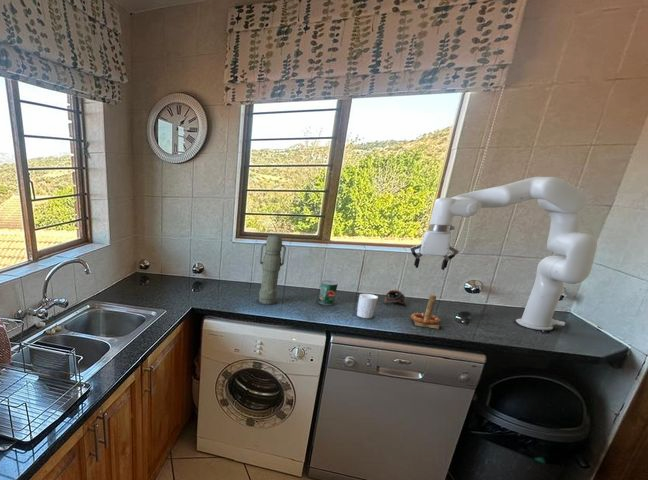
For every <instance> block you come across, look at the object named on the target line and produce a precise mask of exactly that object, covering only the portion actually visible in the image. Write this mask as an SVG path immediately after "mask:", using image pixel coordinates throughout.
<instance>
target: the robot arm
mask: <svg viewBox="0 0 648 480" xmlns="http://www.w3.org/2000/svg"><path fill="white" fill-rule="evenodd" d="M530 200H537V204H538V207H539V208H540V209H541V210H544V211H545V212H547V214H548V215H549V218H550V226H549V230H548V236H547V241H546V249H547V250H548V251H549V252H551V253H553V254H556V255H548V256H546V257H544V258H542V259H541V260H540V261H539V262H538V264H537V266H536V275H535V281H534V284H533V285H532V289H531V291H530V294H529V297H528V299H527V302H526V305H525V308H524V311H523V314H522V316H521V317H520V318H517V319H515V322H516V323H517V324H518V325H519V326H521V327H524V328H528V329H532V330H538V331H552V330H553V329H554V326H559V327H564V326H565V325H566V322H565V321H561V320H559V319H555V318H553V317H554V313H555V312H556V309H557V306H558V304H559V301H560V299H561V296H562V294H563V291H564V283H566V284H570V285H577V284H580V283H582V282H584V281H585V280H587V279H588V277H589V276H590V275H591V271H592V269H593V264H594V260H595V257H596V252H597V248H598V247H597V246H598V243H597V240H596V238H595V237H594V236H593V235H591V234H589V233H583V232H580V226H581V219H582V218H581V217H582V216H581V211H583V210H584V209H585V208H586V207H587V206H588V204H589V196H588V194H587V193H586V192H585V191H584V190H582V189H580V188H578V187H577V186H576V185H573V184H572V183H569V182H568V181H566V180H564V179H562V178H560V177H556V176H532V177H528V178H524V179H521V180H518V181H514V182H511V183H506V184H502V185H499V186H493V187H489V188H484V189H478V190H474V191H469V192H465V193H461V194H458V195H455V196H452V197H439V198H437V199H435V202H434V205H433V209H432V212H431V217H430V221H429V224H428V230H425V232H424V234H423V236H422V238H421V239H422V240H421V243H420V244H417V245H415V246H412V247H410V251H411V254H412V256H413V257H414V258H415V259H414V264H413V266H415V269H418V268H419V265H420V261H421V259H420V258H421V257H423V256H430V257H431V256H433V257H443V258H444V259H443V260H442V263H441V267H440V270H442V271H445V269H446V268H448V263H449V261H451V260H452V259H453V258H455V256H457V254H459V249H456V248H454V247H453V246H451V241H452V240H451V239H452V232H451V231H452V230H455V229H456V225H455V226H453V225H452V223H453V221H454V217H463V218H469V217H473V216H475V215H477V214H478V213H479V212H480V211H481V209H485V208H486V209H488V208H490V209H494V208H496V209H497V208H503V207H508V206H512V205H516V204H519V203H522V202H527V201H530ZM416 250H418V253H416ZM450 251H451V252H452V253H451V254H449V252H450ZM448 254H449V255H448ZM557 254H558V255H557ZM561 255H562V256H561Z"/></svg>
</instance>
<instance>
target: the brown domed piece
mask: <svg viewBox="0 0 648 480" xmlns="http://www.w3.org/2000/svg"><path fill="white" fill-rule="evenodd" d="M383 302H384V304H388V303H389V304H393V303H402V304H403V305H404V306H405V305H406V299H405V295H404V294H403V293H402V292H401V291H400V290H397V289H391V290H389V291H387V292H386V293H385V297H384V300H383Z"/></svg>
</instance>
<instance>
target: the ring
mask: <svg viewBox="0 0 648 480" xmlns="http://www.w3.org/2000/svg"><path fill="white" fill-rule="evenodd" d="M424 315H425V312H414V313H411V314H410V316H409V317H410V319H411V320H412V321H413V320H414V321H416V322H419V323H423V324H438V323H439V324H440V323H441V319H440V318H439V316H436V315H434V314H431V317H430V319H432V320H427V319H422V318H424ZM418 317H422V318H418ZM414 321H413V322H414Z"/></svg>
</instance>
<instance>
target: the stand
mask: <svg viewBox="0 0 648 480" xmlns="http://www.w3.org/2000/svg"><path fill="white" fill-rule="evenodd" d="M436 300H437V295H436V294H430V295H429V297H428V302H427V305H426V309H425V312H424V313H425V315H424V318H422V317H418V318H422V319H427V320H432V319H430V317H431V315H433V310H434V307H435V304H436ZM412 321H413V324H414V326H416V327H417V326H418V327H424V328H433V329H437V330H438V329H440V323H438V324H423V323H419V322H416V321H414V320H412Z"/></svg>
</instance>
